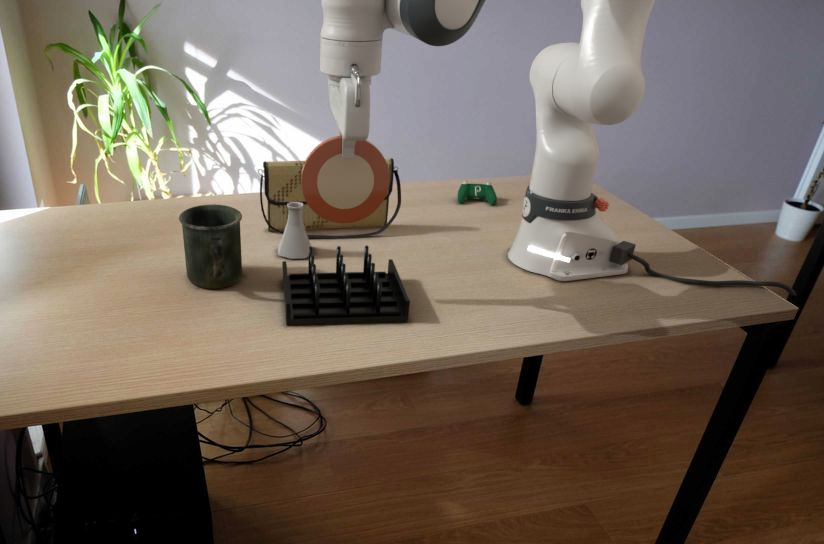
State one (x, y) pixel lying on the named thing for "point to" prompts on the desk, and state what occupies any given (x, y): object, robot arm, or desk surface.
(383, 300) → the rack
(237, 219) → the mug
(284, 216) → the clutch purse
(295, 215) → the flask
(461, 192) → the gaming controller
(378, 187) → the plate
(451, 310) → the desk surface
